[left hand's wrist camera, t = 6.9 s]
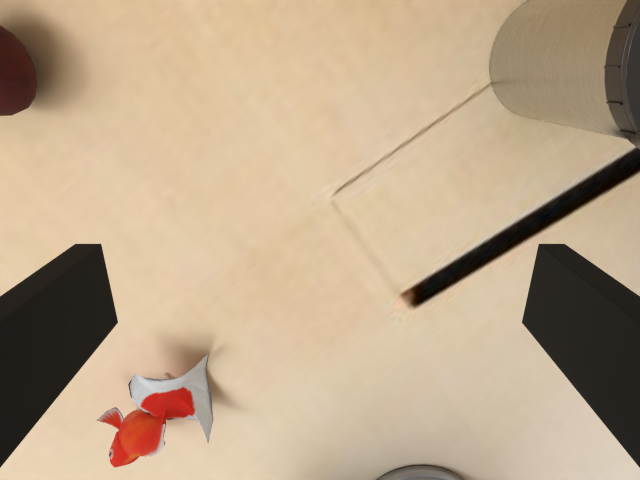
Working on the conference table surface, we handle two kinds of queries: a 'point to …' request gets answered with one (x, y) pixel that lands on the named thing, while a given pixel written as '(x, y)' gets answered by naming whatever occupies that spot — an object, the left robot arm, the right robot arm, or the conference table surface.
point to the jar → (557, 62)
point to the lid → (625, 72)
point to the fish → (159, 413)
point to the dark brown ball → (15, 75)
